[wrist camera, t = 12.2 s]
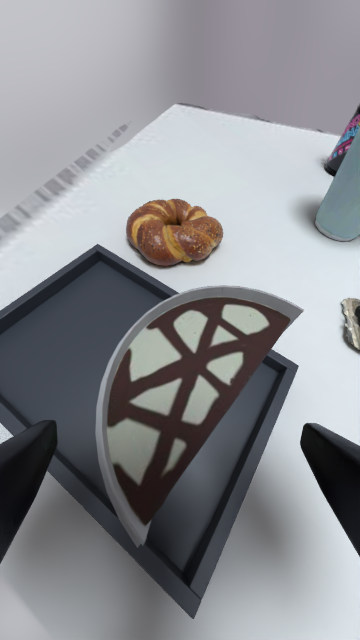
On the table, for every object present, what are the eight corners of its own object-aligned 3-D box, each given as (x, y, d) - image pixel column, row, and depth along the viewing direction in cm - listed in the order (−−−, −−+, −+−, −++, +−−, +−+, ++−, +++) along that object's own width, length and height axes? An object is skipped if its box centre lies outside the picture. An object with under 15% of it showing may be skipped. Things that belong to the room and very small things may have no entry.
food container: (192, 327, 22) (213, 244, 13) (244, 369, 20) (308, 303, 12) (86, 433, 16) (8, 407, 8) (145, 503, 15) (128, 567, 6)
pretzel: (217, 218, 32) (223, 192, 29) (223, 274, 27) (232, 249, 24) (133, 211, 32) (130, 183, 29) (121, 266, 26) (116, 240, 23)
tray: (188, 599, 13) (193, 620, 11) (-46, 364, 19) (-66, 355, 17) (287, 373, 21) (299, 365, 19) (101, 257, 26) (97, 243, 25)
